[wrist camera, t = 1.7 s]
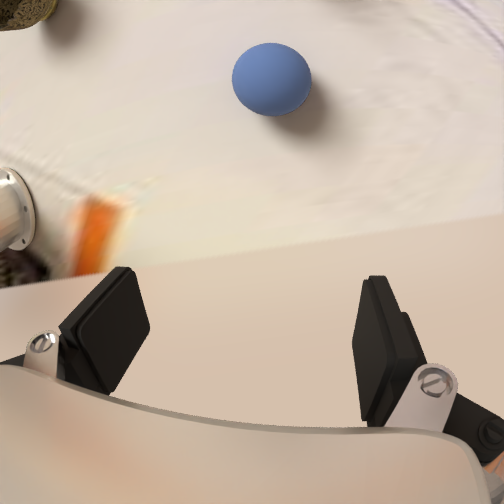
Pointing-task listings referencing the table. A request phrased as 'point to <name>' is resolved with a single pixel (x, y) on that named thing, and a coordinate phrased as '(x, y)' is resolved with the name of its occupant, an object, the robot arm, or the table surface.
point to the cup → (24, 13)
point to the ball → (271, 79)
